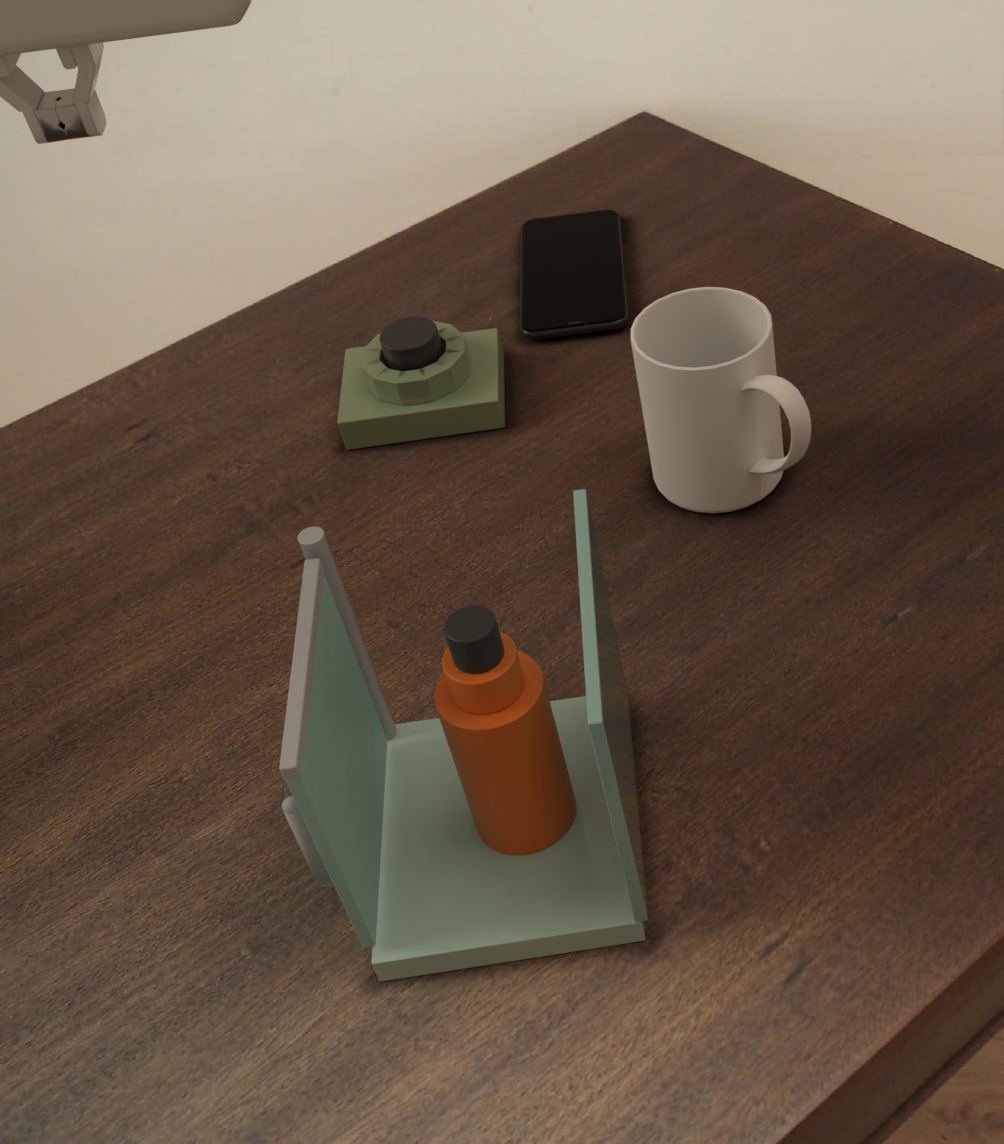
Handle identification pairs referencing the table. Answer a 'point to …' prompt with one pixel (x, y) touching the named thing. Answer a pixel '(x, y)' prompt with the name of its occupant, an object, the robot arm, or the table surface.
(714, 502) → the mug
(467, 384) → the control block
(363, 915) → the shower door
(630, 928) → the shower
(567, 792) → the shampoo bottle
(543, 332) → the smartphone
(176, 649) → the table surface
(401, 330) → the button
